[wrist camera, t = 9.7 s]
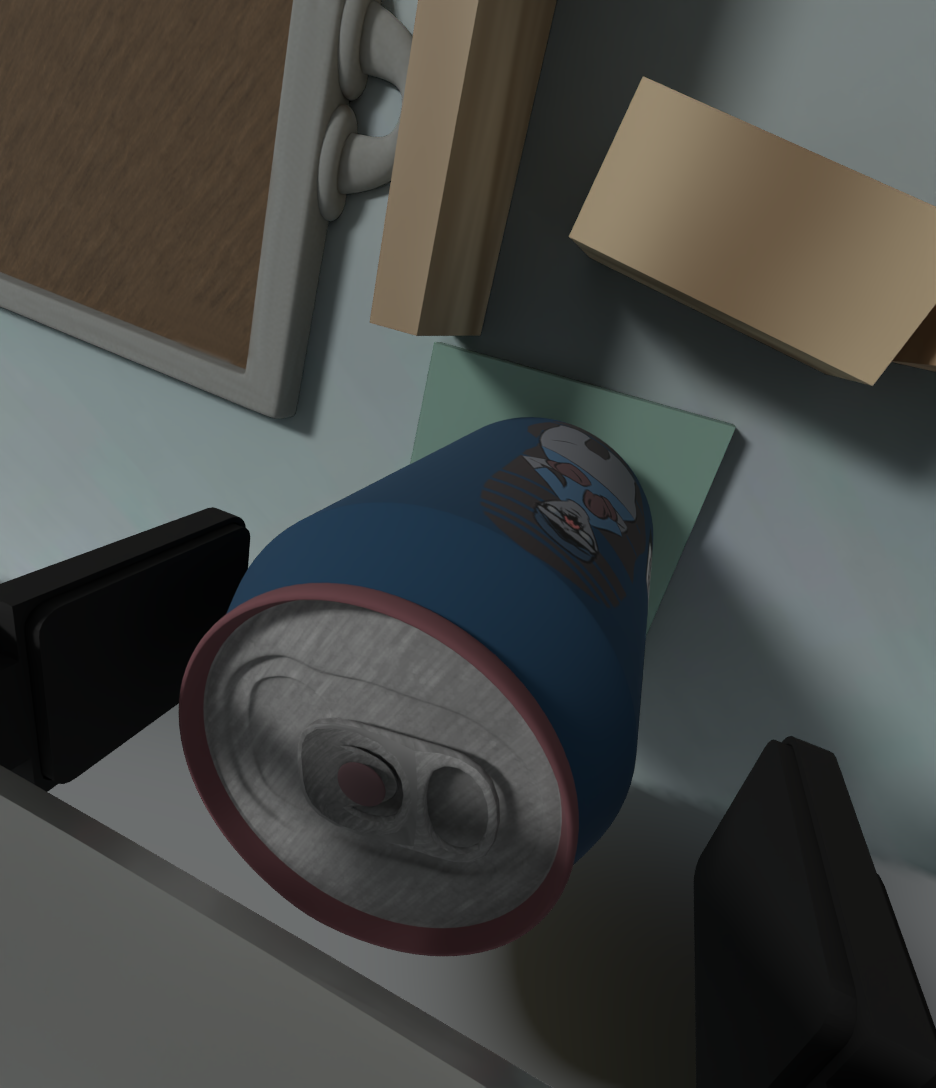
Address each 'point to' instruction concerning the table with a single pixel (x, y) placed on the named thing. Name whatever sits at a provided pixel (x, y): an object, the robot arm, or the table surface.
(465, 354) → the mat
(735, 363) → the table surface
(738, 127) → the offcut
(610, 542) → the soda can
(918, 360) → the offcut
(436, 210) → the enclosure
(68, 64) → the framed cork board
